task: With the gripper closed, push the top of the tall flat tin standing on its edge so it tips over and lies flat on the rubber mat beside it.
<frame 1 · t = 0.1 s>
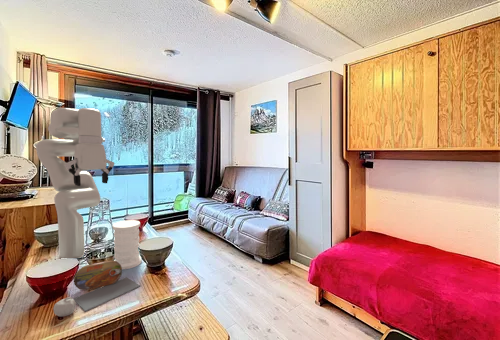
hand: (91, 184, 97), 37 cm above the table, tool pointing down, fingers open, 9 cm apart
decorative container: (127, 263, 109), on the table
garlic: (65, 314, 75), on the table
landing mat: (108, 292, 86), on the table
tin: (99, 286, 90), on the table, touching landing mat
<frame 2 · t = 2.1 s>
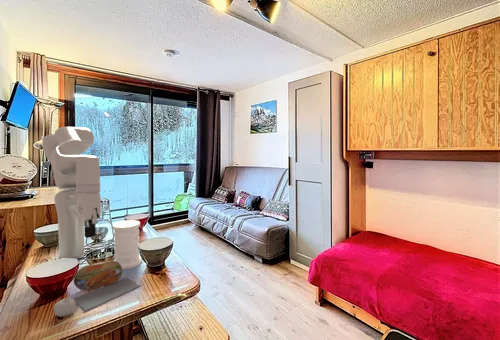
hand: (90, 236, 93), 17 cm above the table, tool pointing down, fingers closed
nothing on the table moved.
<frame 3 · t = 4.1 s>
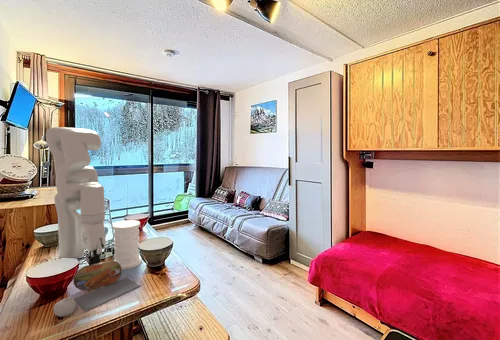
hand: (94, 265, 92), 7 cm above the table, tool pointing down, fingers closed
tin: (99, 285, 90), on the table, touching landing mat
everything else where it was.
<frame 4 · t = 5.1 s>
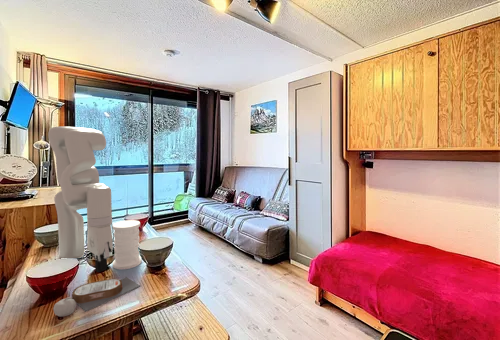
hand: (101, 270, 88), 7 cm above the table, tool pointing down, fingers closed
tin: (99, 283, 89), point 2 cm above the table, touching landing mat
everything else where it was.
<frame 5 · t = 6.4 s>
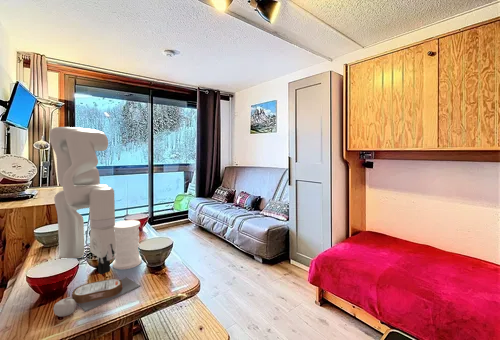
hand: (104, 272, 87), 7 cm above the table, tool pointing down, fingers closed
nothing on the table moved.
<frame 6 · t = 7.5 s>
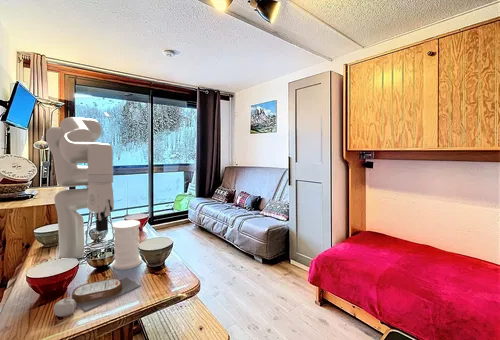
hand: (102, 230, 86), 22 cm above the table, tool pointing down, fingers closed
nothing on the table moved.
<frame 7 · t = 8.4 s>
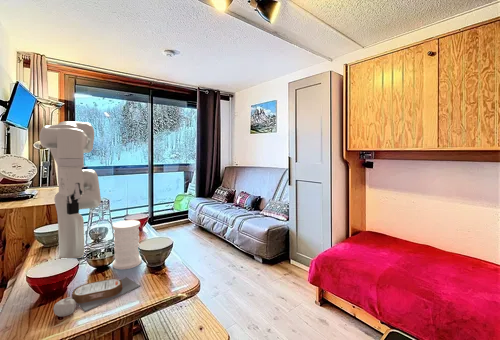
hand: (73, 213, 89), 27 cm above the table, tool pointing down, fingers closed
nothing on the table moved.
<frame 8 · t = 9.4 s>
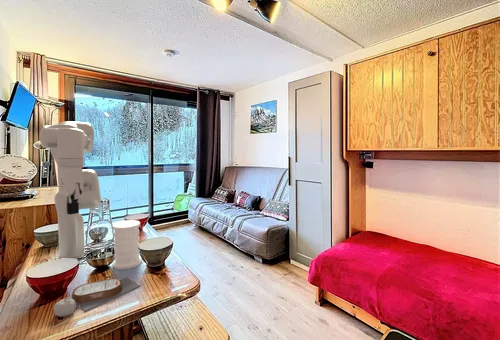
hand: (73, 213, 89), 27 cm above the table, tool pointing down, fingers closed
nothing on the table moved.
at the end: tin tilted 94°; tin touching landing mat; tin inside the target area (1.7 cm from its centre), point 2.0 cm above the table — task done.
